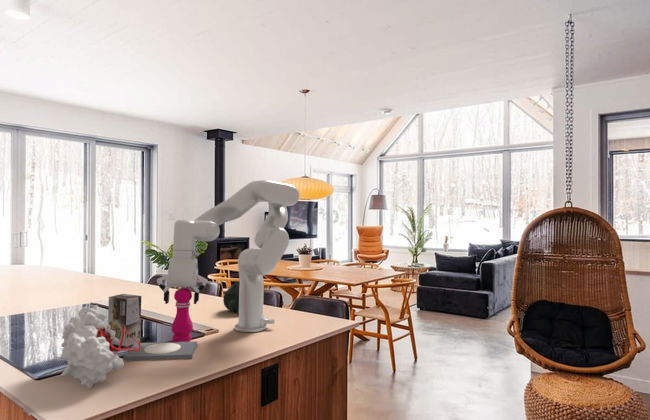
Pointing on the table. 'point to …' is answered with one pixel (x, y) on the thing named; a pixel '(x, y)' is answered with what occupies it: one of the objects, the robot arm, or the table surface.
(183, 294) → the pepper mill
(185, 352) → the board
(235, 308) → the squash
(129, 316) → the electrical box
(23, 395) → the table surface
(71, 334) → the lumpy white molecule
